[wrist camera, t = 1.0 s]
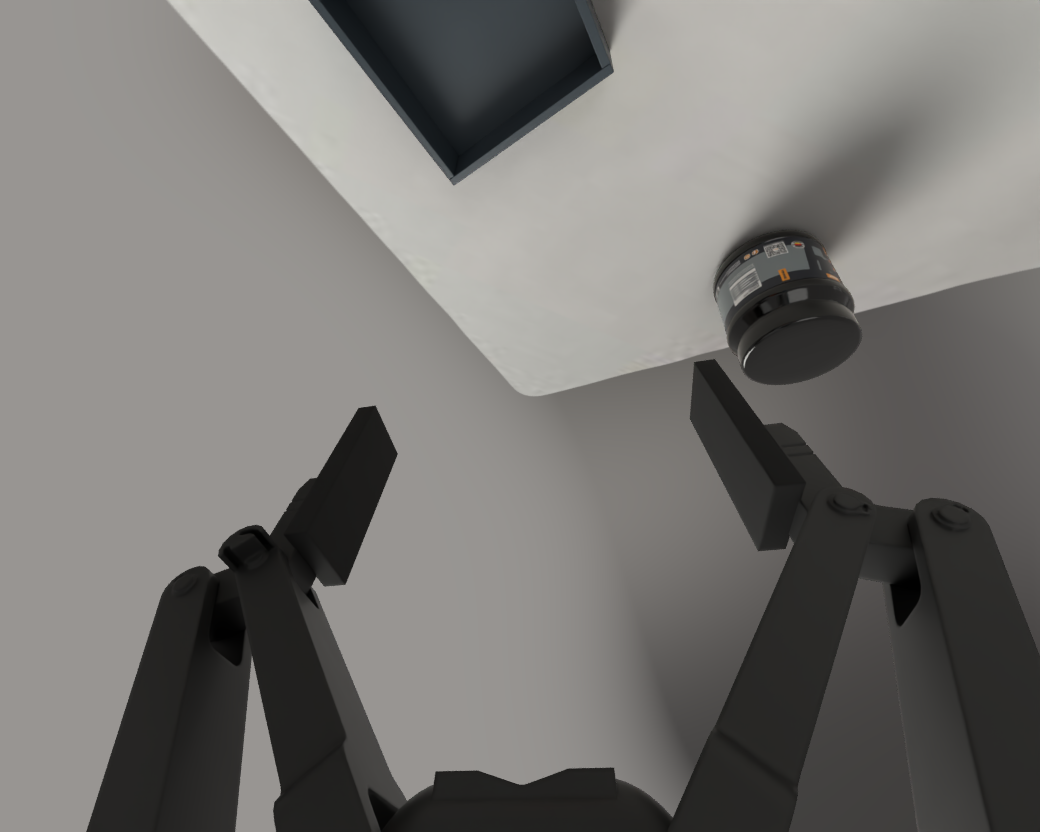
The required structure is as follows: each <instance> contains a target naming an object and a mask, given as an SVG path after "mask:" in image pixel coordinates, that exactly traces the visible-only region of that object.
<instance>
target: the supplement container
mask: <svg viewBox="0 0 1040 832" xmlns="http://www.w3.org/2000/svg"><path fill="white" fill-rule="evenodd" d="M713 293H714V297H715V300H716V302H717V304H718V308H719V311H720V314H721V318H722V321H723V324H724V327H725V331H726V334H727V343H728V345H729V348H730V349H731V351H732V352H733V353H734V354H735V355H736V356H737V357H738V359H739V362H740V365H741V369H742V371H743V373H744V374H745V375H746V376H747V377H748V378H749V379H751V380H752V381H755V382H758V383H761V384H767V385H786V384H793V383H798V382H802V381H806V380H809V379H812V378H815V377H818V376H820V375H822V374H825V373H827V372H829V371H831V370H833V369H834V368H836V367H838V366H839V365H840V364H842V363H843V362H844V361H846V360H847V359H848V358H849V357H850V356H851V355H852V354H853V353H854V352H855V351H856V349H857V348H858V346H859V344H860V342H861V339H862V330H861V327H860V326H859V324H858V322H857V320H856V318H855V316H854V315H853V313H854V308H855V307H854V300H853V297H852V295H851V293H850V292H849V290H848V289H847V288H846V287H845V286H844V285H843V283H842V281H841V279H840V277H839V276H838V274H837V272H836V270H835V268H834V267H833V265H832V263H831V261H830V259H829V257H828V256H827V253H826V250H825V248H824V246H823V244H822V243H821V242H820V241H819V240H818V239H817V238H816V237H814V236H813V235H811V234H809V233H806V232H802V231H797V230H782V231H775V232H771V233H767V234H764V235H762V236H759V237H757V238H754V239H752V240H750V241H749V242H747V243H745V244H744V245H742V246H741V247H739V248H738V249H737V250H735V251H734V252H733V253H732V254H731V255H730V256H729V257H728V258H727V259H726V260H725V261H724V263H723V264H722V265H721V267H720V268H719V270H718V272H717V274H716V277H715V280H714V285H713Z"/></svg>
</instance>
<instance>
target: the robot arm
mask: <svg viewBox="0 0 1040 832" xmlns="http://www.w3.org/2000/svg"><path fill="white" fill-rule="evenodd" d="M690 420H691V422H692V424H693V426H694V428H695V430H696V431H697V433H698V435H699V437H700V439H701V441H702V443H703V445H704V447H705V449H706V451H707V453H708V455H709V457H710V459H711V461H712V462H713V464H714V466H715V468H716V470H717V472H718V474H719V476H720V478H721V480H722V482H723V484H724V486H725V487H726V490H727V492H728V493H729V495H730V497H731V499H732V501H733V503H734V505H735V507H736V509H737V511H738V513H739V515H740V517H741V519H742V521H743V522H744V525H745V526H746V528H747V530H748V532H749V534H750V536H751V538H752V540H753V542H754V544H755V546H756V548H757V550H758V551H765V550H777V549H786V546H787V543H788V540H789V536H790V537H791V539H792V541H793V542H794V545H793V548H792V550H791V552H790V555H789V557H788V559H787V561H786V564H785V566H784V568H783V571H782V573H781V575H780V578H779V580H778V582H777V585H776V587H775V589H774V592H773V594H772V596H771V598H770V601H769V603H768V605H767V608H766V610H765V612H764V615H763V617H762V619H761V621H760V624H759V626H758V628H757V631H756V633H755V635H754V638H753V640H752V642H751V645H750V647H749V649H748V651H747V654H746V656H745V658H744V661H743V663H742V666H741V668H740V670H739V672H738V675H737V677H736V679H735V682H734V684H733V686H732V688H731V691H730V693H729V695H728V698H727V700H726V702H725V705H724V707H723V709H722V712H721V714H720V716H719V718H718V721H717V723H716V725H715V727H714V728H713V730H712V731H711V733H710V735H709V737H708V739H707V741H706V744H705V746H704V748H703V750H702V753H701V755H700V757H699V760H698V762H697V764H696V767H695V769H694V771H693V773H692V776H691V778H690V781H689V782H688V785H687V787H686V789H685V792H684V794H683V796H682V798H681V801H680V803H679V805H678V808H677V810H676V812H675V815H674V817H672V816H670V814H669V813H668V812H667V811H666V810H665V809H664V808H663V807H662V806H661V805H660V804H659V803H658V802H657V801H655V800H654V799H653V798H652V797H651V796H650V795H648V794H647V793H645V792H644V791H642V790H640V789H639V788H637V787H635V786H633V785H631V784H629V783H627V782H624V781H621V780H618V779H615V773H614V768H578V769H566V770H564V771H561V772H558V773H556V774H553V775H550V776H548V777H545V778H542V779H539V780H537V781H534V782H531V783H528V784H525V785H519V784H515V783H512V782H509V781H506V780H504V779H501V778H497V777H495V776H492V775H489V774H486V773H483V772H480V771H443V772H436V773H435V780H434V785H432V786H429V787H428V788H426V789H424V790H422V791H421V792H419V793H418V794H416V795H415V796H414V797H412V798H411V799H409V800H408V801H407V800H406V798H405V796H404V795H403V793H402V791H401V790H400V788H399V787H398V785H397V784H396V782H395V780H394V779H393V777H392V775H391V772H390V771H389V768H388V766H387V763H386V761H385V758H384V756H383V754H382V751H381V749H380V746H379V744H378V741H377V739H376V737H375V734H374V732H373V729H372V727H371V724H370V722H369V720H368V717H367V715H366V713H365V710H364V708H363V705H362V703H361V700H360V698H359V696H358V693H357V691H356V688H355V686H354V683H353V681H352V679H351V676H350V674H349V672H348V669H347V667H346V664H345V662H344V659H343V657H342V654H341V652H340V650H339V647H338V645H337V642H336V640H335V638H334V635H333V633H332V630H331V628H330V625H329V623H328V621H327V618H326V616H325V614H324V611H323V609H322V606H321V604H320V601H319V599H318V596H317V594H316V592H315V591H314V590H313V588H312V587H311V586H312V584H313V582H314V580H315V578H316V577H317V578H318V579H319V580H320V582H321V583H322V584H323V586H335V585H345V584H346V582H347V579H348V577H349V574H350V572H351V569H352V567H353V564H354V562H355V559H356V557H357V554H358V552H359V549H360V547H361V544H362V542H363V539H364V537H365V534H366V532H367V529H368V527H369V524H370V522H371V519H372V517H373V514H374V512H375V509H376V507H377V504H378V502H379V499H380V497H381V494H382V492H383V489H384V487H385V484H386V482H387V479H388V477H389V474H390V472H391V469H392V467H393V464H394V462H395V459H396V457H397V451H396V449H395V447H394V445H393V443H392V441H391V439H390V436H389V434H388V432H387V430H386V427H385V425H384V423H383V421H382V419H381V417H380V414H379V413H378V410H377V408H376V406H370V407H363V408H358V410H357V412H356V414H355V415H354V417H353V419H352V420H351V422H350V424H349V425H348V427H347V428H346V430H345V432H344V434H343V435H342V437H341V439H340V440H339V442H338V444H337V445H336V447H335V449H334V450H333V452H332V454H331V455H330V457H329V459H328V461H327V462H326V464H325V466H324V467H323V469H322V470H321V472H320V474H319V476H318V477H317V478H313V479H309V480H308V481H307V482H306V483H305V484H304V485H303V486H302V487H301V488H300V489H299V490H298V492H297V493H296V495H295V496H294V498H293V500H292V503H290V504H289V506H288V508H287V509H286V510H287V511H286V512H284V514H283V515H282V517H281V519H280V520H279V522H278V523H277V525H276V527H275V528H274V530H273V531H272V533H271V535H270V536H269V535H268V533H267V532H266V531H265V530H264V529H263V527H262V526H258V525H252V526H247V527H245V528H243V529H241V530H239V531H237V532H236V533H234V534H233V535H231V536H230V537H229V538H228V539H227V540H226V541H225V542H224V543H223V544H222V546H221V548H220V549H219V554H218V556H219V558H221V560H222V561H224V563H225V564H226V565H227V566H228V567H229V569H226V570H223V571H221V572H218V573H215V574H213V573H211V572H210V570H208V569H207V568H206V567H204V566H203V567H202V566H198V567H194V568H191V569H189V570H187V571H185V572H183V573H182V574H180V575H179V576H177V577H176V578H175V579H174V580H172V581H171V583H170V584H169V585H168V586H167V587H166V588H165V590H164V592H163V594H162V596H161V599H160V602H159V605H158V608H157V611H156V614H155V618H154V621H153V624H152V627H151V630H150V634H149V637H148V640H147V643H146V646H145V649H144V652H143V655H142V658H141V662H140V665H139V668H138V671H137V674H136V677H135V681H134V684H133V687H132V690H131V693H130V696H129V699H128V703H127V706H126V709H125V712H124V715H123V718H122V721H121V725H120V728H119V731H118V734H117V737H116V740H115V744H114V747H113V750H112V753H111V756H110V759H109V762H108V766H107V769H106V772H105V775H104V779H103V782H102V784H101V787H100V791H99V794H98V797H97V800H96V803H95V807H94V810H93V813H92V816H91V819H90V822H89V825H88V829H87V832H235V827H236V816H237V805H238V795H239V785H240V774H241V763H242V753H243V742H244V732H245V721H246V711H247V700H248V690H249V679H250V668H251V657H253V662H254V666H255V671H256V675H257V680H258V685H259V689H260V694H261V698H262V703H263V707H264V712H265V717H266V721H267V726H268V730H269V735H270V740H271V744H272V749H273V753H274V758H275V763H276V767H277V772H278V776H279V781H280V786H281V795H280V797H279V798H278V799H277V800H276V801H275V803H274V810H273V812H274V822H275V826H276V832H788V831H789V828H790V824H791V821H792V817H793V814H794V810H795V805H796V801H797V796H798V782H799V779H800V775H801V771H802V768H803V765H804V761H805V758H806V754H807V751H808V748H809V744H810V740H811V737H812V734H813V731H814V727H815V724H816V720H817V717H818V714H819V710H820V707H821V704H822V700H823V697H824V693H825V690H826V686H827V683H828V679H829V676H830V673H831V670H832V666H833V662H834V659H835V656H836V653H837V649H838V646H839V642H840V639H841V635H842V632H843V629H844V625H845V622H846V619H847V615H848V611H849V608H850V605H851V601H852V598H853V595H854V591H855V588H856V585H857V581H858V578H861V579H866V580H871V581H876V582H882V585H883V591H884V598H885V606H886V613H887V620H888V626H889V633H890V640H891V648H892V655H893V662H894V669H895V676H896V683H897V690H898V697H899V704H900V711H901V718H902V725H903V731H904V739H905V746H906V753H907V760H908V767H909V774H910V781H911V788H912V795H913V802H914V809H915V816H916V823H917V830H918V832H1040V656H1039V653H1038V650H1037V648H1036V645H1035V642H1034V640H1033V637H1032V635H1031V632H1030V630H1029V627H1028V624H1027V622H1026V619H1025V617H1024V614H1023V611H1022V609H1021V606H1020V604H1019V601H1018V599H1017V596H1016V594H1015V591H1014V588H1013V586H1012V583H1011V581H1010V578H1009V575H1008V573H1007V570H1006V568H1005V565H1004V563H1003V560H1002V557H1001V555H1000V552H999V550H998V547H997V544H996V542H995V539H994V537H993V534H992V532H991V529H990V526H989V525H988V523H987V522H986V521H985V519H984V518H983V517H982V516H981V515H979V514H978V513H977V512H976V511H974V510H973V509H971V508H969V507H967V506H965V505H963V504H960V503H958V502H954V501H951V500H947V499H939V498H929V499H924V500H921V501H920V502H919V503H918V504H916V506H915V508H914V510H908V509H900V508H893V507H885V506H879V505H875V504H873V503H872V501H871V500H869V499H868V498H867V497H866V496H864V495H863V494H861V493H859V492H857V491H855V490H852V489H849V488H844V487H842V486H841V485H840V483H839V482H838V481H837V480H836V479H835V478H834V476H833V475H832V474H831V473H830V471H829V470H828V469H827V468H826V467H825V466H824V464H823V463H822V462H821V461H820V460H819V458H818V457H817V456H816V455H815V454H813V451H812V450H811V449H810V447H809V446H808V445H806V443H805V441H804V440H803V439H802V438H801V437H800V435H799V434H798V433H797V432H796V431H794V430H793V429H791V428H789V427H788V426H786V425H784V424H783V423H777V424H768V425H763V424H762V422H761V421H760V419H759V418H758V417H757V416H756V414H755V413H754V411H753V410H752V409H751V407H750V406H749V405H748V403H747V402H746V401H745V399H744V398H743V397H742V395H741V394H740V393H739V391H738V390H737V389H736V387H735V386H734V385H733V383H732V382H731V380H730V379H729V378H728V376H727V375H726V374H725V372H724V371H723V370H722V368H721V367H720V366H719V364H718V363H717V362H716V360H715V359H713V360H706V361H699V362H694V373H693V385H692V399H691V412H690ZM616 785H617V786H616Z"/></svg>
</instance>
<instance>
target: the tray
mask: <svg viewBox="0 0 1040 832" xmlns="http://www.w3.org/2000/svg"><path fill="white" fill-rule="evenodd" d="M309 1H310V3H311V4H312V5H313V6H314V8H315V9H316V10H317V12H318V13H319V14H320V15H321V17H322V18H323V19H324V20H325V22H326V23H327V24H328V26H329V27H330V28H331V29H332V31H333V32H334V33H335V35H336V36H337V37H338V38H339V40H340V41H341V42H342V43H343V45H344V46H345V47H346V49H347V50H348V51H349V52H350V54H351V55H352V56H353V58H354V59H355V60H356V61H357V63H358V64H359V65H360V66H361V68H362V69H363V70H364V72H365V73H366V74H367V75H368V77H369V78H370V79H371V81H372V82H373V83H374V84H375V86H376V87H377V88H378V89H379V91H380V92H381V93H382V95H383V96H384V97H385V98H386V100H387V101H388V102H389V104H390V105H391V106H392V107H393V109H394V110H395V111H396V112H397V114H398V115H399V116H400V118H401V119H402V120H403V121H404V123H405V124H406V125H407V126H408V128H409V129H410V130H411V132H412V133H413V134H414V135H415V137H416V138H417V139H418V141H419V142H420V143H421V144H422V146H423V147H424V148H425V149H426V151H427V152H428V153H429V155H430V156H431V157H432V158H433V160H434V161H435V162H436V164H437V165H438V166H439V167H440V169H441V170H442V171H443V172H444V174H445V175H446V176H447V178H448V179H449V180H450V181H451V183H452V184H453V185H456V184H457V183H458V182H460V181H461V180H463V179H464V178H466V177H467V176H468V175H470V174H471V173H473V172H474V171H475V170H477V169H478V168H480V167H481V166H482V165H484V164H485V163H487V162H488V161H489V160H491V159H492V158H494V157H495V156H496V155H498V154H499V153H501V152H502V151H504V150H505V149H506V148H508V147H509V146H511V145H512V144H513V143H515V142H516V141H518V140H519V139H520V138H522V137H523V136H525V135H526V134H527V133H529V132H530V131H532V130H533V129H534V128H536V127H537V126H539V125H540V124H542V123H543V122H544V121H546V120H547V119H549V118H550V117H551V116H553V115H554V114H556V113H557V112H558V111H560V110H561V109H563V108H564V107H565V106H567V105H568V104H570V103H571V102H573V101H574V100H575V99H577V98H578V97H580V96H581V95H582V94H584V93H585V92H587V91H588V90H589V89H591V88H592V87H594V86H595V85H596V84H598V83H599V82H601V81H602V80H603V79H605V78H606V77H608V76H609V75H611V74H612V73H613V72H614V70H613V65H612V60H611V55H610V50H609V48H608V45H607V42H606V40H605V37H604V35H603V32H602V29H601V27H600V24H599V21H598V19H597V16H596V13H595V11H594V8H593V5H592V3H591V0H309Z"/></svg>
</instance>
